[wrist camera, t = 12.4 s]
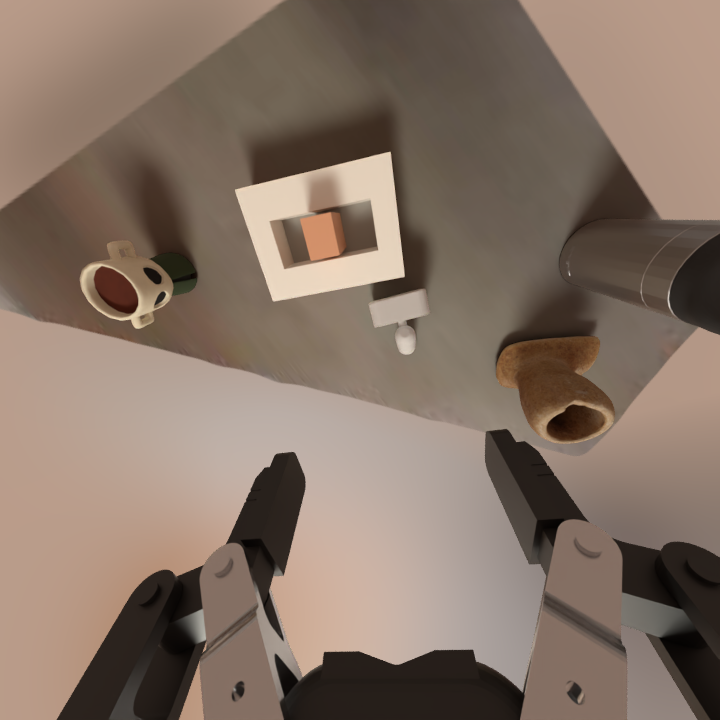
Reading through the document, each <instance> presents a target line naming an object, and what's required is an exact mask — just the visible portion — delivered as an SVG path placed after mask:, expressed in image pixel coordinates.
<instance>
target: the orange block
mask: <svg viewBox="0 0 720 720" xmlns="http://www.w3.org/2000/svg"><path fill="white" fill-rule="evenodd" d="M300 221H301V225H302V229H303V233H304V237H305V240H306V244H307V248H308V252H309V256H310V259H311V261H314V260H319V259H324V258H328V257H333V256H338V255H340V254H341V253H342V252H343V251H344V249H345V248H346V247H347V246H346V241H345V236H344V231H343V226H342V221H341V216H340V213H335V212H329V213H324V214H320V215H315V216H311V217H306V218H302V219H300Z"/></svg>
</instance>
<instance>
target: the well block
mask: <svg viewBox="0 0 720 720" xmlns="http://www.w3.org/2000/svg"><path fill="white" fill-rule="evenodd" d="M235 192H236V195H237V198H238V201H239V204H240V207H241V209H242V212H243V215H244V218H245V221H246V224H247V227H248V230H249V233H250V236H251V238H252V241H253V244H254V247H255V250H256V253H257V256H258V259H259V262H260V265H261V267H262V270H263V273H264V276H265V279H266V282H267V285H268V288H269V291H270V294H271V296H272V299H273V302H274V301H279V300H284V299H290V298H295V297H300V296H306V295H311V294H316V293H322V292H327V291H332V290H338V289H343V288H348V287H354V286H359V285H364V284H370V283H375V282H380V281H386V280H391V279H396V278H401V277H405V274H404V265H403V257H402V248H401V239H400V230H399V222H398V213H397V204H396V196H395V187H394V178H393V169H392V161H391V152H387V153H383V154H379V155H375V156H371V157H367V158H363V159H359V160H354V161H350V162H346V163H342V164H338V165H334V166H330V167H326V168H322V169H318V170H314V171H310V172H305V173H301V174H297V175H293V176H289V177H285V178H281V179H277V180H273V181H269V182H265V183H261V184H257V185H252V186H248V187H244V188H240V189H236V190H235ZM329 212H335V213H340V216H341V221H342V226H343V231H344V236H345V241H346V246H347V247H346V248H345V249H344V251H343V252H342V253H341V254H340V255H338V256H333V257H328V258H324V259H319V260H314V261H311V259H310V256H309V252H308V248H307V244H306V240H305V237H304V233H303V229H302V225H301V221H300V219H302V218H306V217H311V216H315V215H320V214H324V213H329Z"/></svg>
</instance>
